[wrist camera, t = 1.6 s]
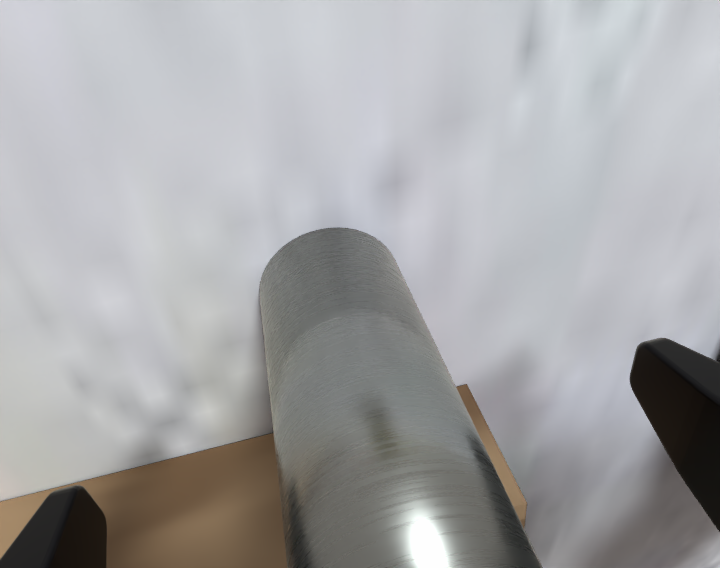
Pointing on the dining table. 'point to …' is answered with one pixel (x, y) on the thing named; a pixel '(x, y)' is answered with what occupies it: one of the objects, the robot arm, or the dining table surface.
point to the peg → (373, 421)
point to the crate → (207, 506)
